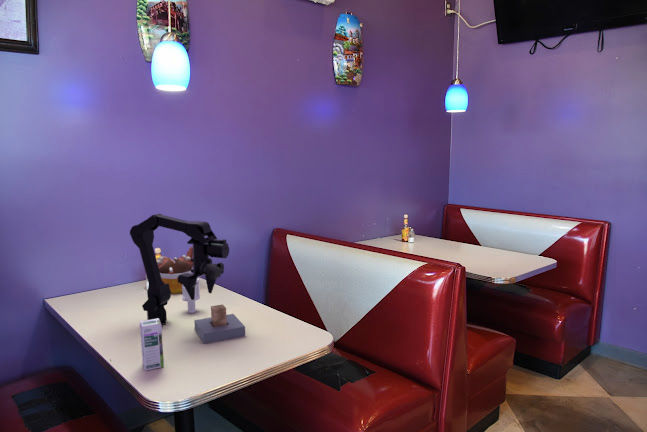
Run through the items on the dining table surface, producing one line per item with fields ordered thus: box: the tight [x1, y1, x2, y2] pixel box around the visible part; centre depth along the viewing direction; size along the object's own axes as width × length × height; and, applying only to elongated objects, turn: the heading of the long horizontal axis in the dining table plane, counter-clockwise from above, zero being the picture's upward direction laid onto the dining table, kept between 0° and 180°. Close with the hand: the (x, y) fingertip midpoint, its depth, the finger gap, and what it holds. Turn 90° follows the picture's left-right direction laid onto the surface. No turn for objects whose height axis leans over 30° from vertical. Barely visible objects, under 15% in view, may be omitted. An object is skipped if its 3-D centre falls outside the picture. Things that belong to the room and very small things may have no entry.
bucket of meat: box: [156, 246, 193, 295], centre depth 228 cm, size 20×16×20 cm
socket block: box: [194, 313, 246, 344], centre depth 177 cm, size 15×15×4 cm
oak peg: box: [210, 304, 227, 327], centre depth 177 cm, size 4×4×9 cm
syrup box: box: [139, 318, 165, 372], centre depth 150 cm, size 6×6×14 cm
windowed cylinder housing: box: [181, 277, 201, 314], centre depth 199 cm, size 7×7×15 cm
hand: (201, 296), depth 180 cm, fingers open, 9 cm apart
